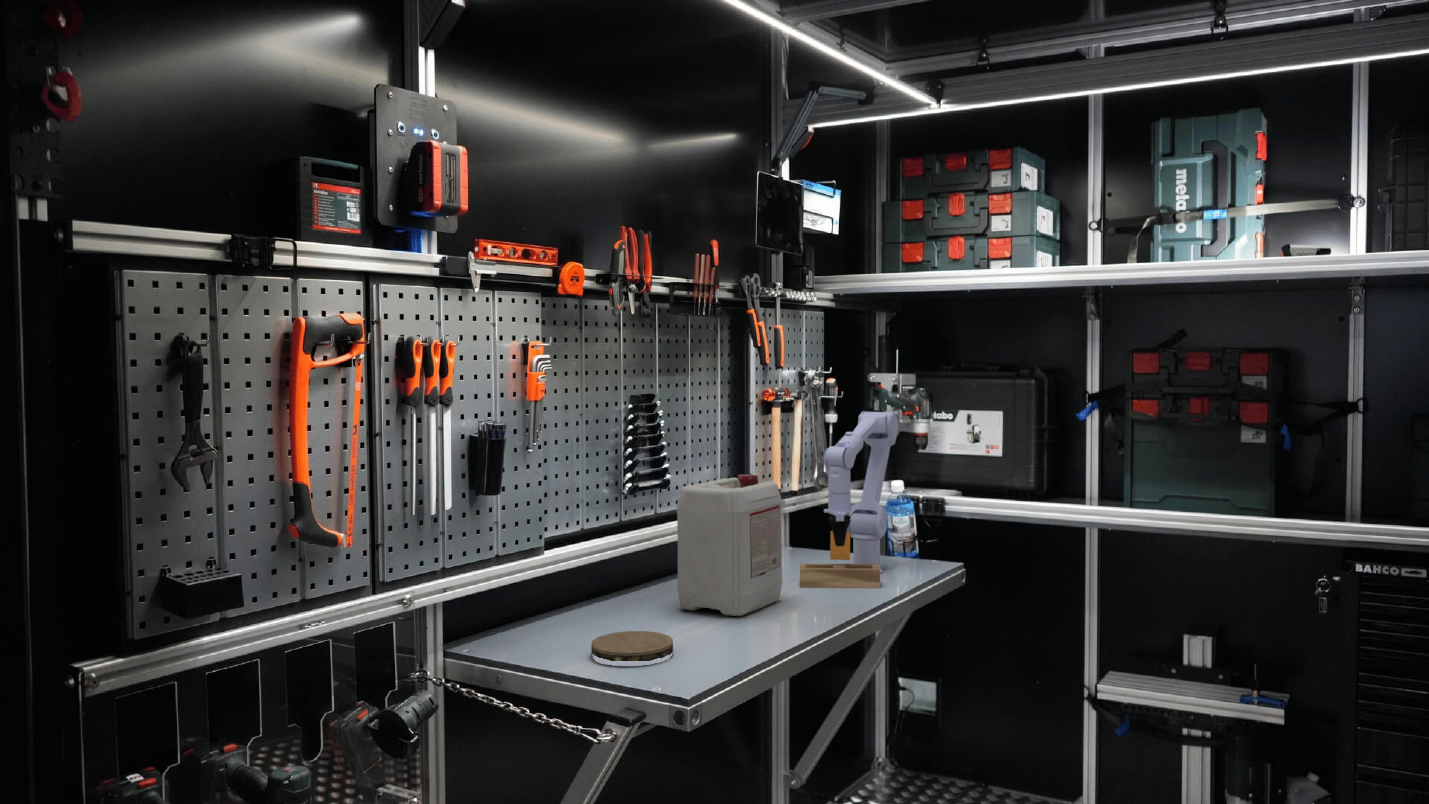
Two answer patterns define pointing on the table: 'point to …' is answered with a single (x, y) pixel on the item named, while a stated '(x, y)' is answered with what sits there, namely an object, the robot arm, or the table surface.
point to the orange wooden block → (840, 549)
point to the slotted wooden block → (840, 575)
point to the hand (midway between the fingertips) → (839, 545)
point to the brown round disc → (632, 646)
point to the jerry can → (729, 545)
